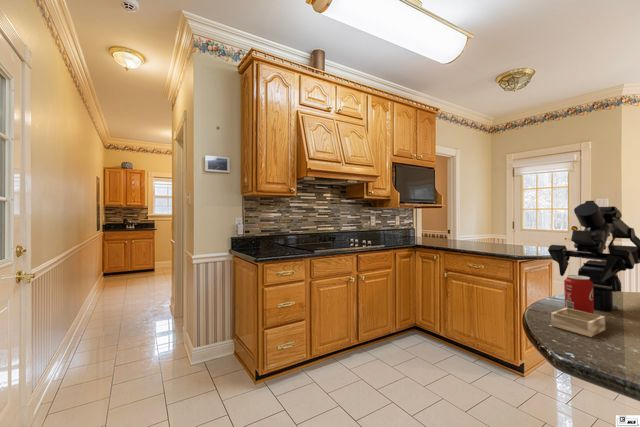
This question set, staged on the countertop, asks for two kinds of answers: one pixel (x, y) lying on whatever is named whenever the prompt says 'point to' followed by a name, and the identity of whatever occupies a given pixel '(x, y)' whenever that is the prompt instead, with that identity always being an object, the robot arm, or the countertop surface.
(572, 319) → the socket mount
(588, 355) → the countertop surface
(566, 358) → the countertop surface
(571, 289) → the beverage can
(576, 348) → the countertop surface
